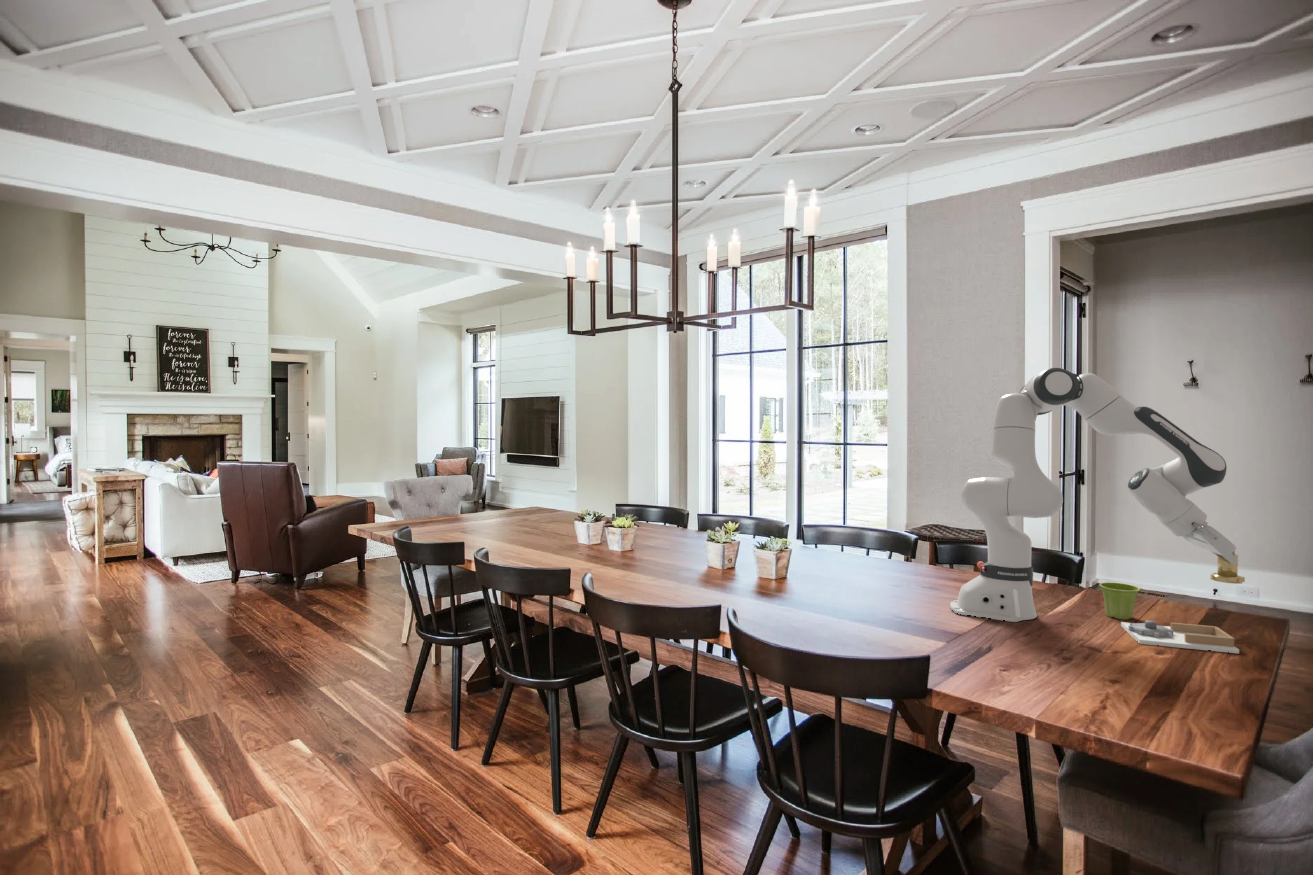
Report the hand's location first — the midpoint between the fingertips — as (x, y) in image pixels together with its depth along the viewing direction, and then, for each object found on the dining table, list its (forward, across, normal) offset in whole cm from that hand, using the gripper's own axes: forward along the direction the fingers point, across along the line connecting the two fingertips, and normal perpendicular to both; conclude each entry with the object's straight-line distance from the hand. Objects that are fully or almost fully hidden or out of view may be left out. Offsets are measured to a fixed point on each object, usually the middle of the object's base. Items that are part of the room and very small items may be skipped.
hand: (1230, 560), depth 177 cm
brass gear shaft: (+3, 0, +4) cm, 5 cm away
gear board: (+3, -10, +24) cm, 26 cm away
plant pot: (-2, +8, +30) cm, 31 cm away
